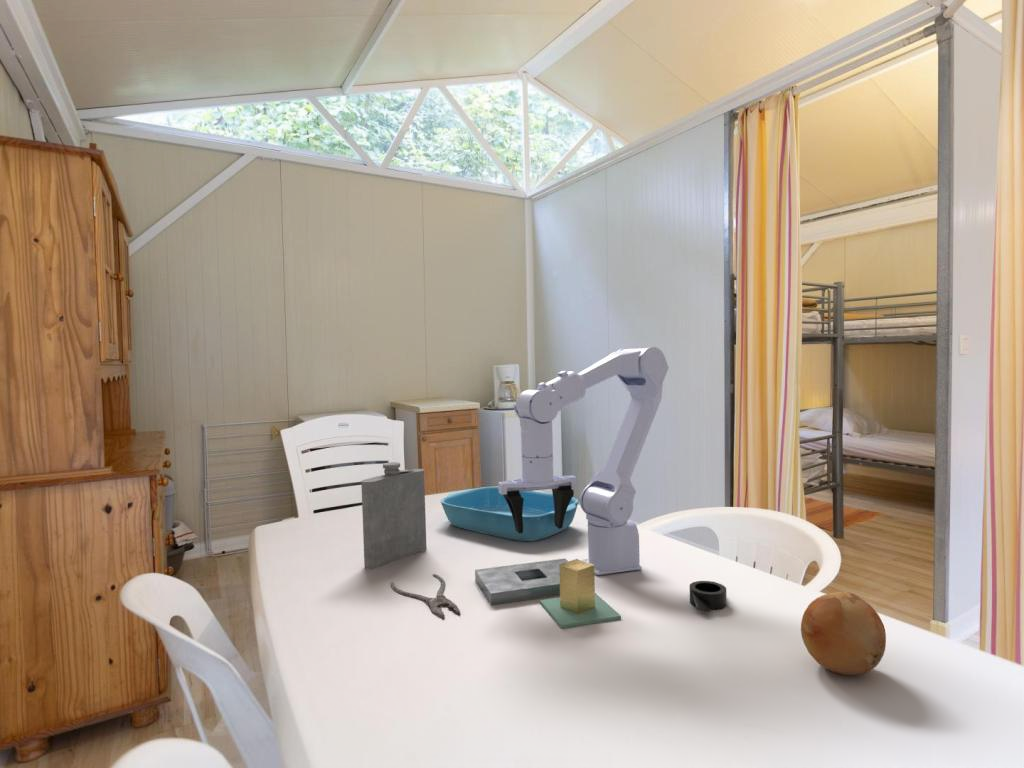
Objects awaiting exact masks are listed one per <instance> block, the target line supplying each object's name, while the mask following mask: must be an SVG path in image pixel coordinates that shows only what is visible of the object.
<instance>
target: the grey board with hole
mask: <svg viewBox="0 0 1024 768" xmlns="http://www.w3.org/2000/svg"><path fill="white" fill-rule="evenodd" d="M569 561H570V560H567V559H566V558H558V559H549V560H541V561H533V562H526V563H517V564H511V565H503V566H495V567H486V568H479V569H478V568H477V569H474V578H475V579H474V580H475V583H476V584H477V585H478V587H479V588H480V590H481V592H482V593H483V595H484V597H485V598H486V600H487V601H488V603H489V605H490V606H495V605H502V604H503V605H504V604H508V603H516V602H522V601H523V602H524V601H530V600H537V599H543V598H544V599H545V598H551V597H552V598H553V597H556V596H557V597H558V596H560V574H559V565H560V564H563V563H566V562H569Z"/></svg>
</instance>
